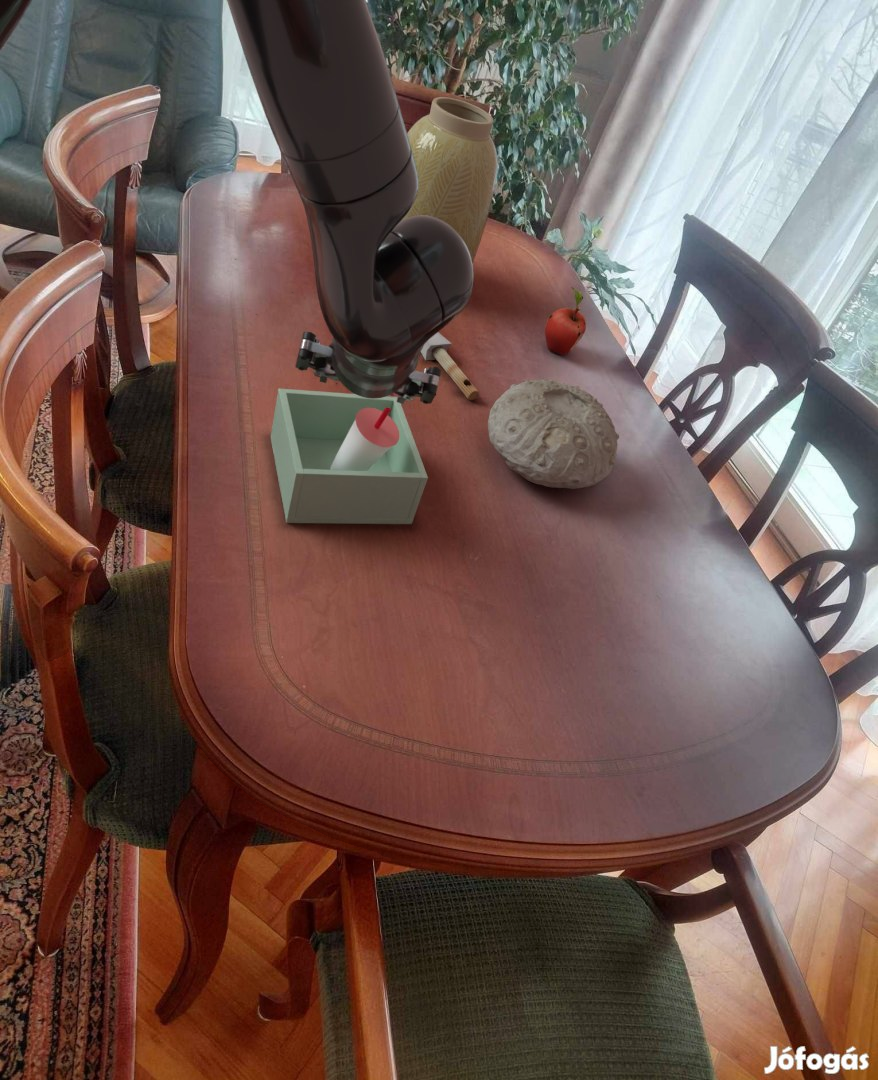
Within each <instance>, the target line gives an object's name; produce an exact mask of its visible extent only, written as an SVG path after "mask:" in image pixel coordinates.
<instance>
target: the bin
mask: <svg viewBox="0 0 878 1080" xmlns="http://www.w3.org/2000/svg"><path fill="white" fill-rule="evenodd" d="M397 398H398V397H394V396H386V397H383V398H374V399H373V398H365V397H361V396H358V395H356V394H354V393H347V392H346V393H345V392H344V393H343V392H331V391H318V390H304V389H290V388H280V387H279V388H278V389H277V395H276V401H275V408H274V413H273V419H272V420H273V421H272V426H271V431H270V442H271V446H272V452H273V458H274V463H275V469H276V475H277V479H278V486H279V491H280V497H281V502H282V507H283V512H284V517H285V523H286V524H348V525H350V524H351V525H352V524H353V525H354V524H357V525H361V524H362V525H363V524H364V525H412V524H413V522H414V518H415V516H416V513H417V510H418V507H419V504H420V502H421V500H422V497H423V493H424V490H425V488H426V485H427V482H428V479H429V477H428V474H427V471H426V469H425V466H424V463H423V460H422V458H421V454H420V452H419V449H418V447H417V444H416V441H415V439H414V436H413V433H412V429H411V427H410V424H409V422H408V419H407V417H406V414H405V411H404V408H403V406H402V403H398V402H397ZM364 408H375V409H378V410H380V411H382V412H383V411H384V409H385V408H390V409H391V411H390V412H389V414H388V416H389V417H390V418H391V419H392V420H393V421H394V422H395V424H396V425H397V427H398V430H399V440H398V442H397V443H396V444H395V445H394V446H392V447H391V448H390V449H389V450H388V451H387V452H386V453H385V454H384V455H383V456H382V457H381V458H380V459H379V460H378V461H377V462H376V463H375V464H374V465H373V466H371V467H370V468H369V469H368V470H367V471H351V470H330V467H331V465H332V463H333V461H334V459H335V457H336V455H337V453H338V451H339V449H340V447H341V445H342V444H343V442H344V440H345V438H346V436H347V434H348V432H349V430H350V428H351V427H352V425H353V423H354V421H355V419H356V415H357V413H358V412H359V411H360V410H361V409H364Z"/></svg>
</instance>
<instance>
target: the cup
mask: <svg viewBox="0 0 878 1080" xmlns="http://www.w3.org/2000/svg"><path fill="white" fill-rule="evenodd" d="M390 411H391V409H390V408H385V409H384V411H383V412H382V411H380V410H378V409H375V408H364V409H361V410H360V411H359V412H358V413H357V415H356V419H355V421H354V423H353V425H352V427H351V428H350V430H349V432H348V434H347V436H346V438H345V440H344V442H343V444H342V445H341V447H340V449H339V451H338V453H337V455H336V457H335V459H334V461H333V463H332V465H331V467H330V470H351V471H367V470H368V469H369V468H370V467H371V466H373V465H374V464H375V463H376V462H377V461H378V460H379V459H380V458H381V457H382V456H383V455H384V454H385V453H386V452H387V451H388V450H389V449H390V448H391V447H392V446H394V445H395V444H396V443H397V442H398V440H399V430H398V427H397V425H396V424H395V422H394V421H393V420H392V419H391V418H390V417H389V416H388V414H389V412H390Z"/></svg>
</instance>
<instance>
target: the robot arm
mask: <svg viewBox="0 0 878 1080" xmlns="http://www.w3.org/2000/svg"><path fill="white" fill-rule="evenodd" d="M32 1H33V0H0V53H1V52H2V50H4V47H5V46H6V45H7V43H8V41H9V40H10V38H11V36H12V35H13V34H14V32H15V31H16V29H17V27H18V25H19V24H20V22H21V21H22V19H23V17H24V16H25V14H26V13H27V10H28V8H29V7H30V5H31V4H32ZM226 2H227V4H228V8H229V11H230V14H231V17H232V20H233V24H234V26H235V27H234V28H235V30H236V33H237V36H238V40H239V43H240V46H241V48H242V49H241V50H242V52H243V55H244V58H245V61H246V64H247V67H248V69H249V73H250V76H251V79H252V82H253V85H254V87H255V91H256V93H257V95H258V98H259V101H260V104H261V107H262V109H263V112H264V115H265V118H266V120H267V123H268V125H269V127H270V130H271V132H272V135H273V137H274V140H275V142H276V144H277V146H278V150H279V151H280V154H281V156H282V159H283V161H284V163H285V165H286V168H287V170H288V172H289V174H290V177H291V180H292V181H293V184H294V186H295V188H296V190H297V192H298V195H299V197H300V200H301V202H302V205H303V208H304V211H305V215H306V220H307V226H308V231H309V236H310V242H311V249H312V257H313V266H314V267H313V269H314V277H315V286H316V287H315V288H316V292H317V298H318V303H319V307H320V311H321V313H322V317H323V320H324V322H325V324H326V326H327V329H328V331H329V333H330V335H331V336H332V342H331V343H330V344H329V345H325V344H322V343H320V341H321V340H320V338H317V335H316V334H315V333H313V332H312V331H303V333H302V337H301V341H300V345H299V350H298V354H297V357H296V362H295V368H296V369H297V370H298V371H308V370H309V369H308V368H310V369H312V374H313V375H314V377H317V378H319V382H320V383H324V384H327V381H328V379H329V380H332V381H333V382H340V383H341V385H342V386H343V387H345V388H346V390H347V391H350V393H351V394H356V395H358V396H361V397H365V398H373V399H374V398H383V397H386V396H388V397H398V398H397V402H398V403H401V405H402V404H404V403H405V401H406V402H411V401H415V397H416V398H419V401H420V402H421V403H422V404H424V405H428V404H429V405H431V404H432V403H433V402H434V399H435V397H436V395H437V391H438V388H439V383H440V379H441V375H442V369H441V368H440V367H438V366H429V368H424V369H423V371H419V370H416V368H417V367H418V364H419V360H420V356H421V355H422V353H421V350H422V349H423V347H424V344H425V343H426V342H427V341H428V340H429V339H430V338H431V337H433V336H434V335H435V334H436V333H440V331H441V330H443V329H444V328H445V327H446V326H447V325H448V324H450V323H451V322H452V321H453V320H454V319H455V318H456V317H458V316H459V315H460V314H461V313H462V312H463V311H464V309H465V308H466V306H467V305H468V303H469V302H470V299H471V297H472V293H473V290H474V282H475V273H474V271H475V270H474V264H472V259H471V256H470V253H469V250H468V248H467V246H466V244H465V242H464V240H463V239H462V237H461V236H460V235H459V234H458V232H457V231H456V230H455V229H454V228H453V227H451V226H450V225H449V224H447V223H446V222H444V221H442V220H440V219H438V218H436V217H432V216H427V215H416V216H411V217H408V218H406V219H403V218H404V217H405V216H406V214H407V213H408V212H409V210H410V208H411V207H412V205H413V204H414V202H415V199H416V197H417V193H418V186H419V182H418V173H417V168H416V164H415V160H414V156H413V153H412V149H411V146H410V142H409V138H408V135H407V133H408V131H407V128H406V124H405V122H404V118H403V114H402V109H401V106H400V104H399V100H398V96H397V93H396V89H395V85H394V82H393V79H392V76H391V73H390V70H389V66H388V63H387V59H386V57H385V54H384V51H383V47H382V44H381V41H380V38H379V36H378V33H377V29H376V27H375V24H374V21H373V18H372V16H371V12H370V10H369V7H368V4H367V2H366V0H226ZM402 219H403V220H402Z"/></svg>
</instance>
